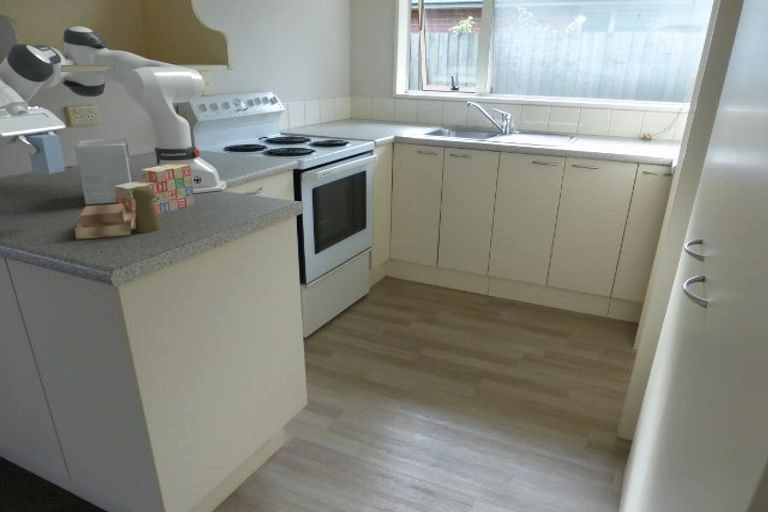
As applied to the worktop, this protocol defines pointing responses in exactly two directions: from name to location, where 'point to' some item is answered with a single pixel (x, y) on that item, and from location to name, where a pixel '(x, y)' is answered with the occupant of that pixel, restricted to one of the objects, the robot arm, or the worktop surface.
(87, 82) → the robot arm
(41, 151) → the pillar
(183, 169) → the stack of blocks
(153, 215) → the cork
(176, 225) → the worktop surface
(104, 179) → the supplement box
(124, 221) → the plinth
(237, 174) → the worktop surface
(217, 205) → the worktop surface
